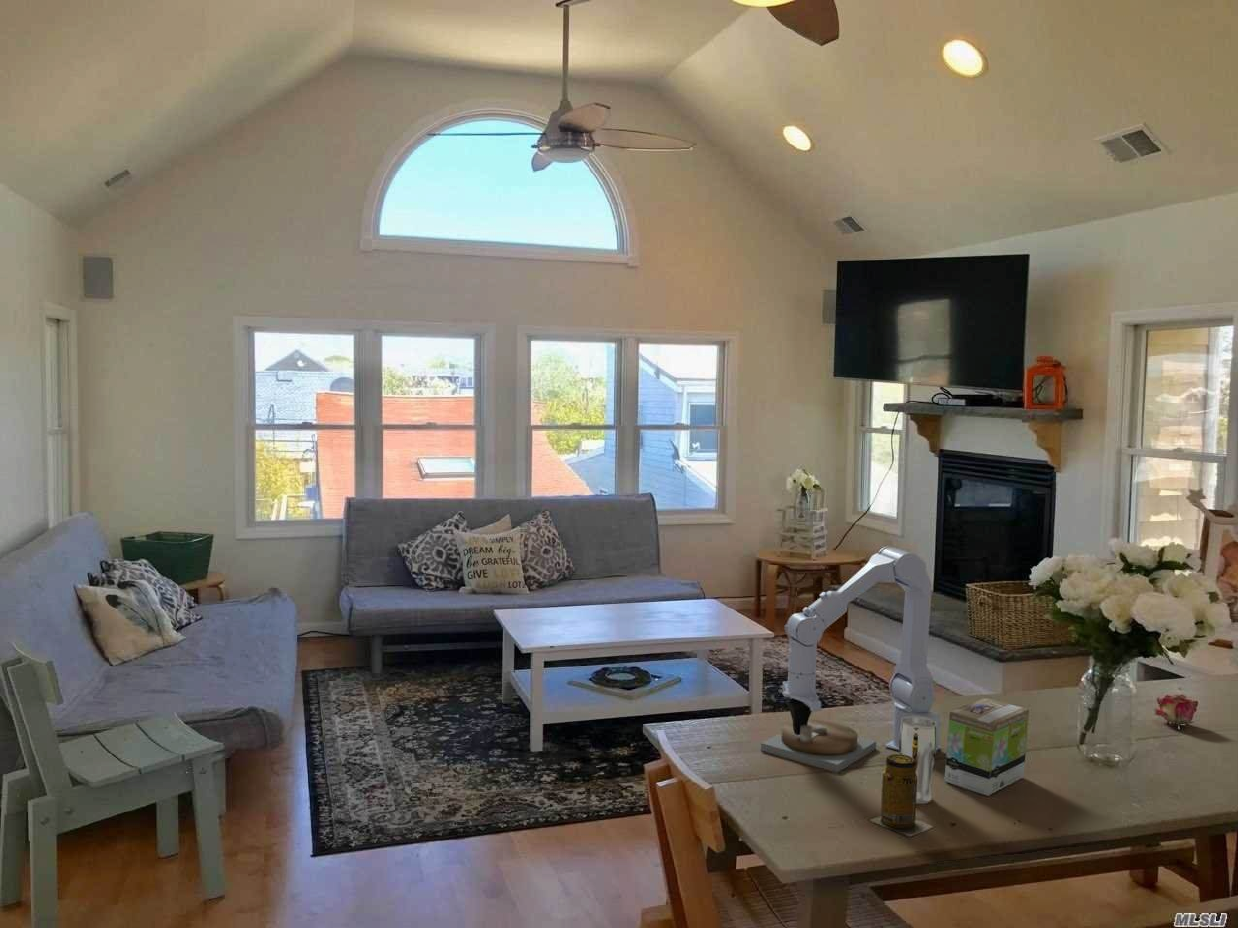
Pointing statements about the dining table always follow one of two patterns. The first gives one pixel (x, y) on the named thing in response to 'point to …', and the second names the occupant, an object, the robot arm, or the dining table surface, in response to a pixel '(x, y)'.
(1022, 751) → the tea box
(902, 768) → the condiment
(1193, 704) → the flower
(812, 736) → the handwheel
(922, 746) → the beer glass
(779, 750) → the base plate
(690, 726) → the dining table surface
